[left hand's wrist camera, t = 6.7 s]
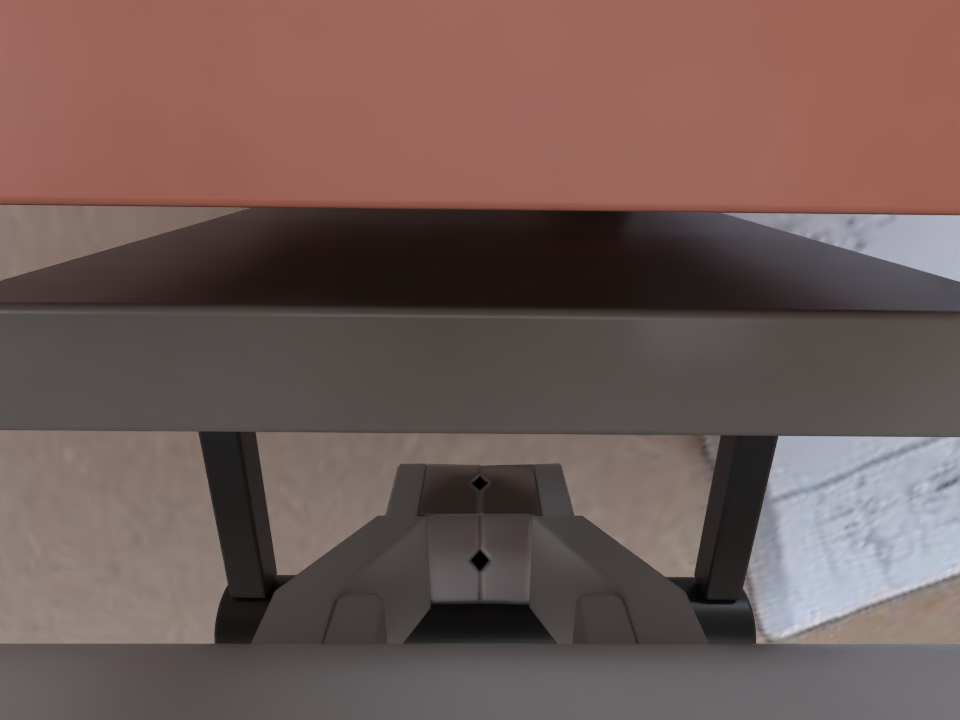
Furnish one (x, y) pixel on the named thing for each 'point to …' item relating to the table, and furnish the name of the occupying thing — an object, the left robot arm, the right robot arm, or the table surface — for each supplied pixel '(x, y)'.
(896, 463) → the table surface
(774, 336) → the drawer
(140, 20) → the cabinet
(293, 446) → the table surface
